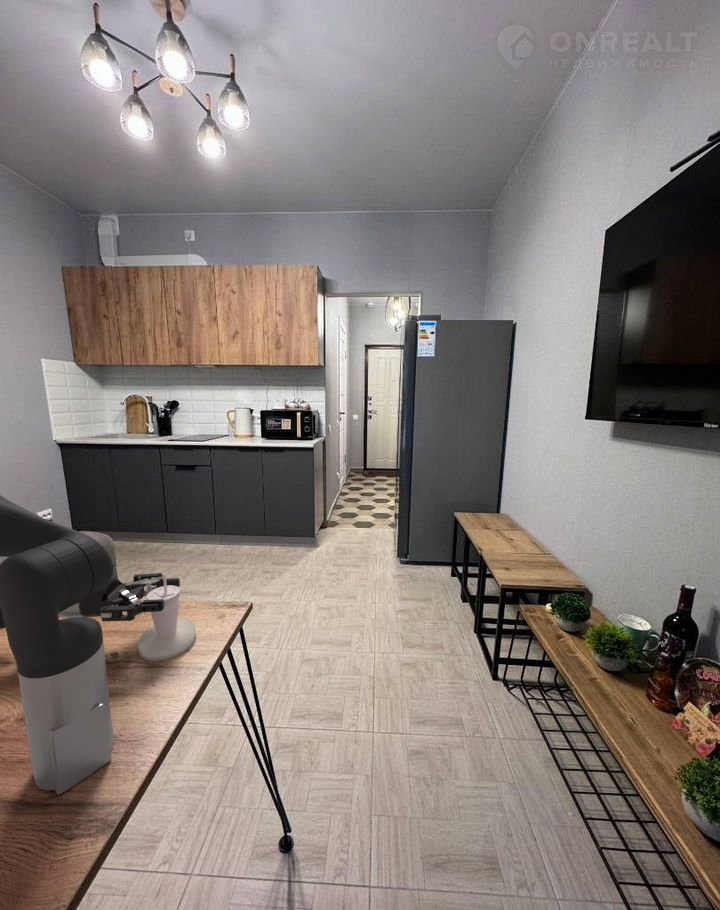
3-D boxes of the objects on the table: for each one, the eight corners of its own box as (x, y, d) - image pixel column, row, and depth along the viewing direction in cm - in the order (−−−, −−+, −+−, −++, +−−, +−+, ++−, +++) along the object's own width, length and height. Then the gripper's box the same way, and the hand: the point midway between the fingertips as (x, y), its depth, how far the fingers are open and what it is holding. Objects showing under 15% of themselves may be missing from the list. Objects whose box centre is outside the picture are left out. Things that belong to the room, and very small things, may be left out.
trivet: (205, 640, 78) (205, 631, 78) (152, 669, 70) (151, 660, 69) (181, 620, 85) (180, 612, 85) (129, 645, 76) (129, 636, 76)
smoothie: (170, 645, 73) (165, 582, 71) (142, 642, 74) (136, 580, 72) (189, 626, 80) (185, 568, 77) (163, 623, 81) (158, 565, 78)
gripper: (63, 600, 66) (156, 595, 68) (106, 564, 80) (182, 561, 82) (67, 636, 67) (158, 631, 69) (109, 595, 81) (184, 591, 83)
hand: (171, 593), depth 76 cm, fingers open, 8 cm apart
